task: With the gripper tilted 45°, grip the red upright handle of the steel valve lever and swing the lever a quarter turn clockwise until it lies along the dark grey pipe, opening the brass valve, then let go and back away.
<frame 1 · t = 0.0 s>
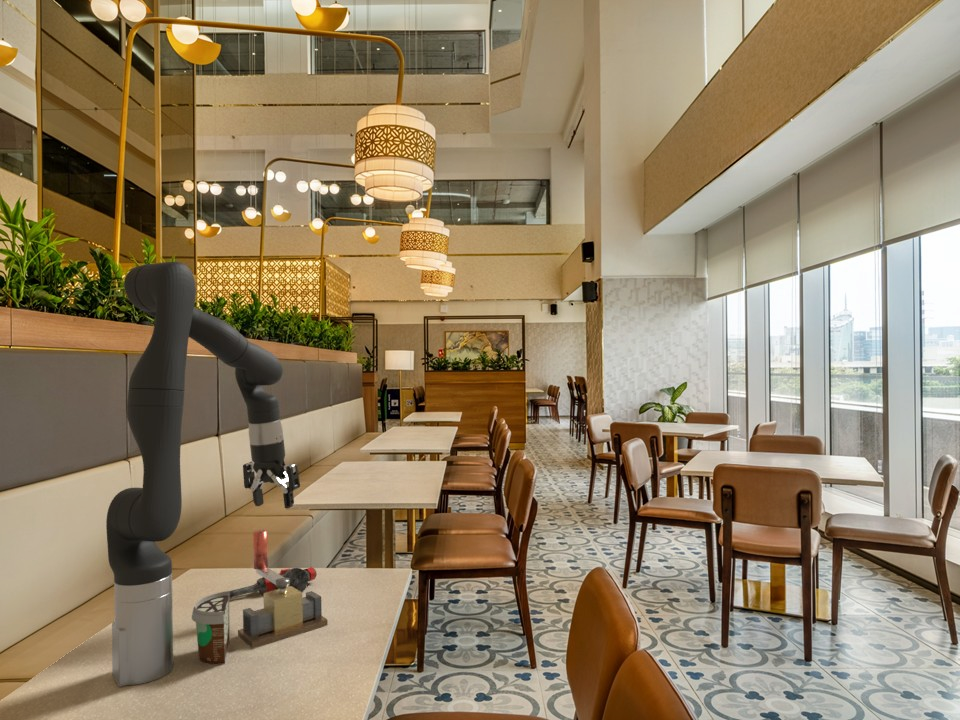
hand: (274, 506, 144), 22 cm above the table, tool pointing down, fingers open, 8 cm apart
lever: (271, 557, 132), point 14 cm above the table, hinge at 0.0°
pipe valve: (283, 630, 127), on the table
valve: (262, 592, 152), on the table
food container: (210, 656, 117), on the table
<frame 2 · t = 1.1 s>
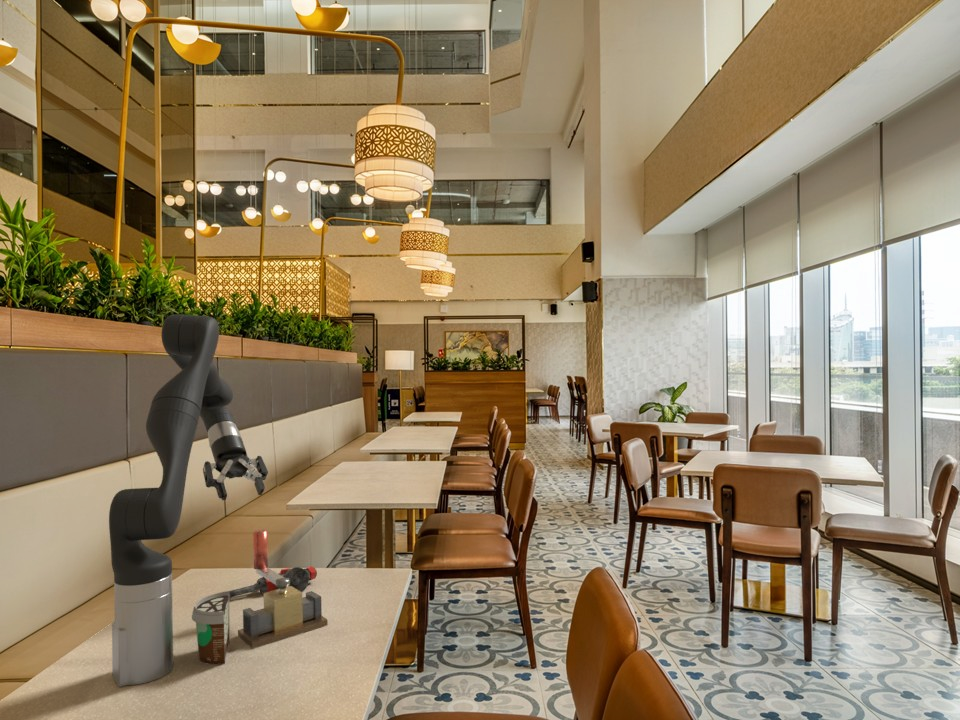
hand: (243, 495, 145), 25 cm above the table, tool tilted 45°, fingers open, 8 cm apart
nothing on the table moved.
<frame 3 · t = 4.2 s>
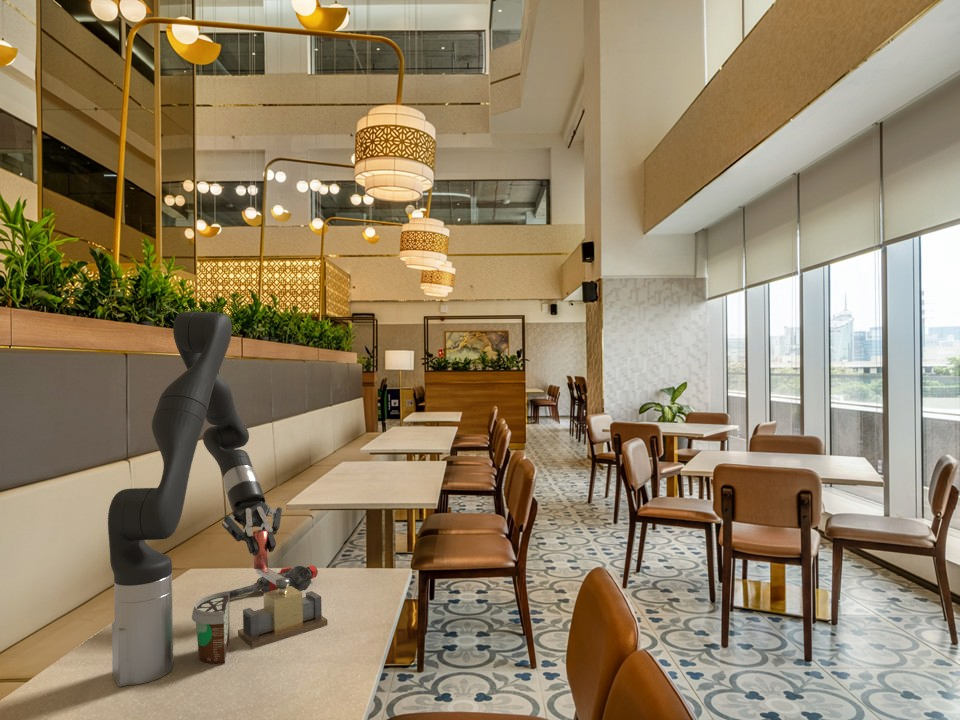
hand: (264, 551, 135), 14 cm above the table, tool tilted 45°, fingers closed on lever, 3 cm apart
lever: (271, 557, 132), point 14 cm above the table, hinge at 0.0°, touching gripper
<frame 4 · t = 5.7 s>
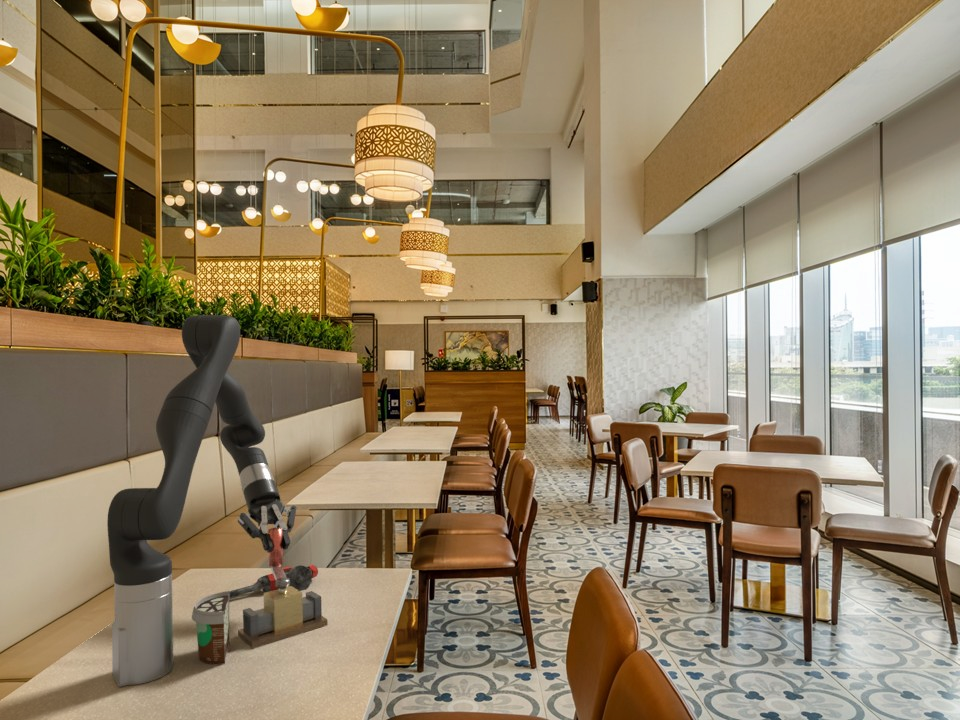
hand: (278, 548, 137), 14 cm above the table, tool tilted 45°, fingers closed on lever, 3 cm apart
lever: (278, 556, 133), point 14 cm above the table, hinge at -15.9°, touching gripper
everything else where it was.
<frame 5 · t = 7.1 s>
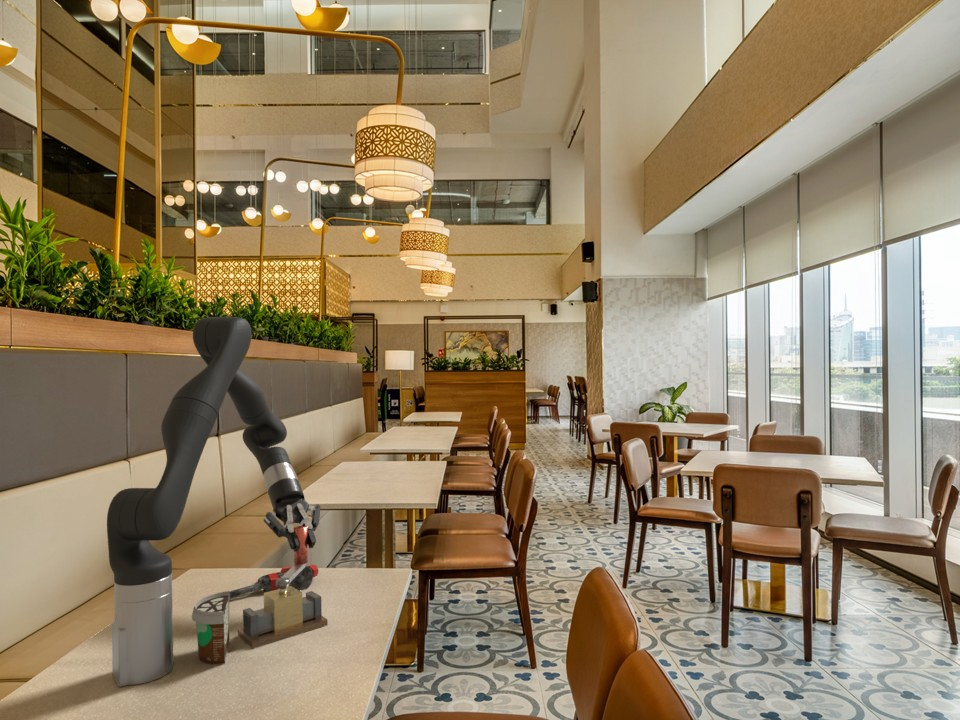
hand: (304, 547, 138), 14 cm above the table, tool tilted 45°, fingers closed on lever, 3 cm apart
lever: (292, 555, 134), point 14 cm above the table, hinge at -42.5°, touching gripper
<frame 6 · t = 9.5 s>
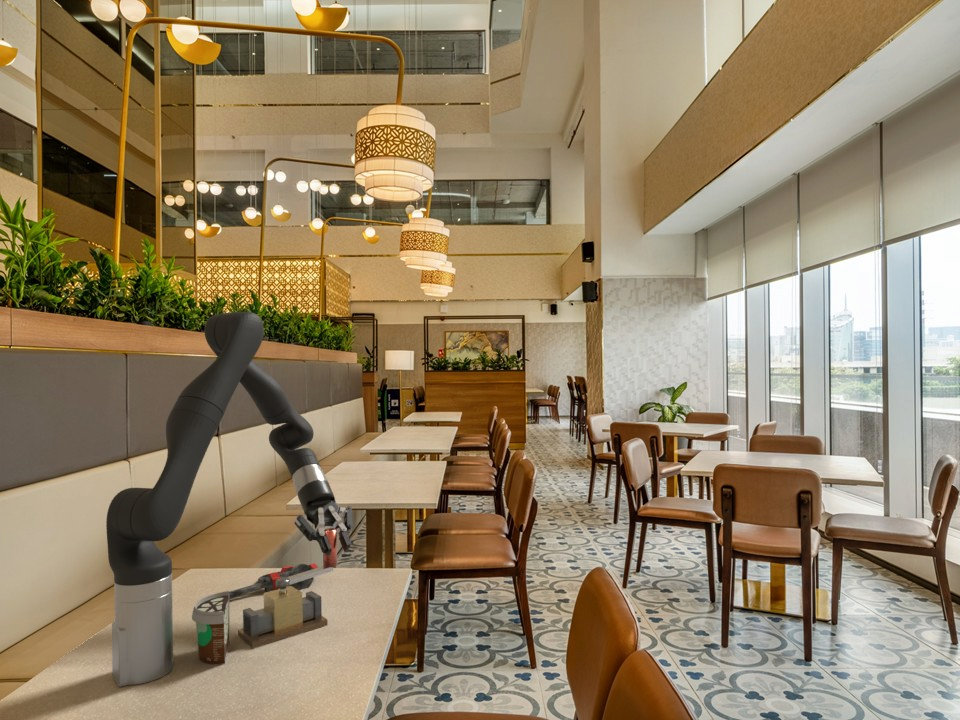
hand: (338, 550, 134), 14 cm above the table, tool tilted 45°, fingers open, 4 cm apart
lever: (307, 556, 132), point 14 cm above the table, hinge at -80.8°
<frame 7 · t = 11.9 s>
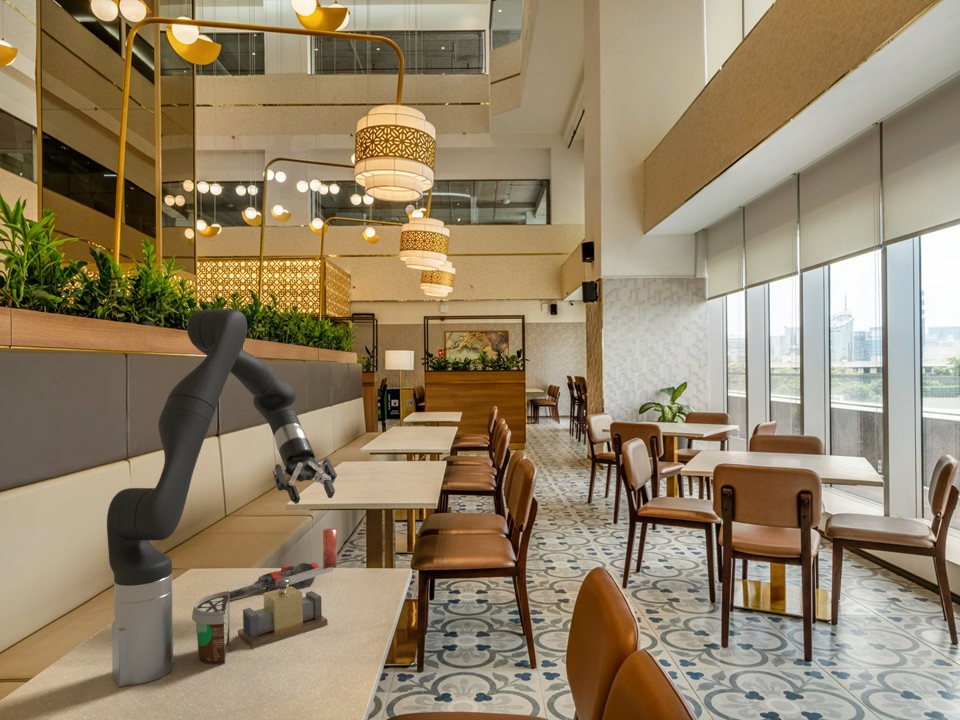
hand: (315, 498, 143), 24 cm above the table, tool tilted 45°, fingers open, 8 cm apart
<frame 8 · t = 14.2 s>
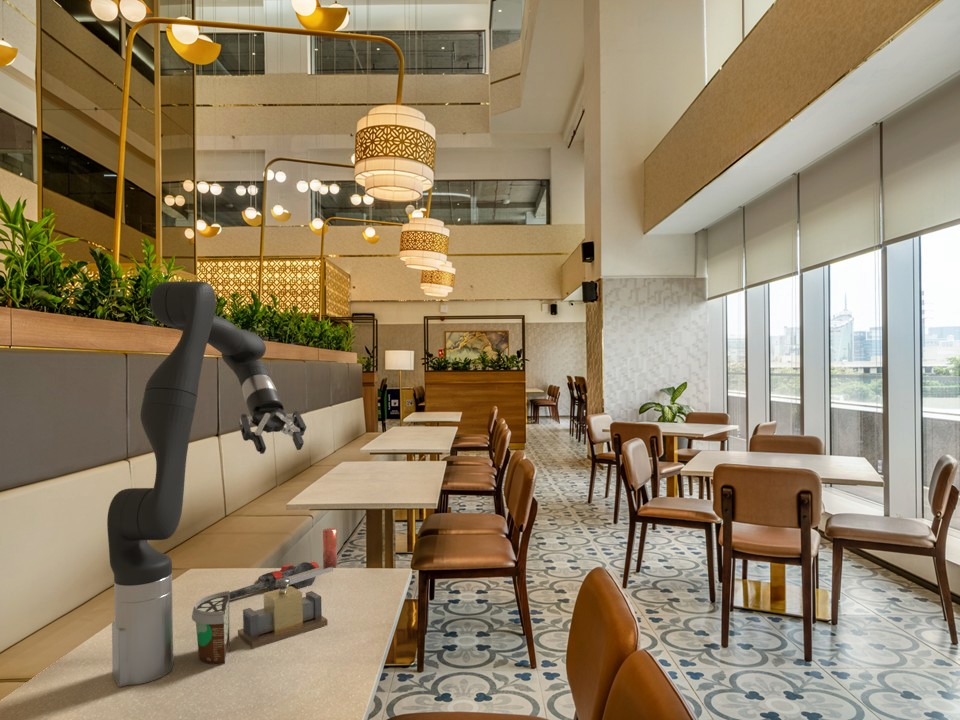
hand: (282, 449, 137), 37 cm above the table, tool tilted 45°, fingers open, 8 cm apart
at the end: lever at -81° (first picture: +0°); the gripper is holding nothing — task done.
